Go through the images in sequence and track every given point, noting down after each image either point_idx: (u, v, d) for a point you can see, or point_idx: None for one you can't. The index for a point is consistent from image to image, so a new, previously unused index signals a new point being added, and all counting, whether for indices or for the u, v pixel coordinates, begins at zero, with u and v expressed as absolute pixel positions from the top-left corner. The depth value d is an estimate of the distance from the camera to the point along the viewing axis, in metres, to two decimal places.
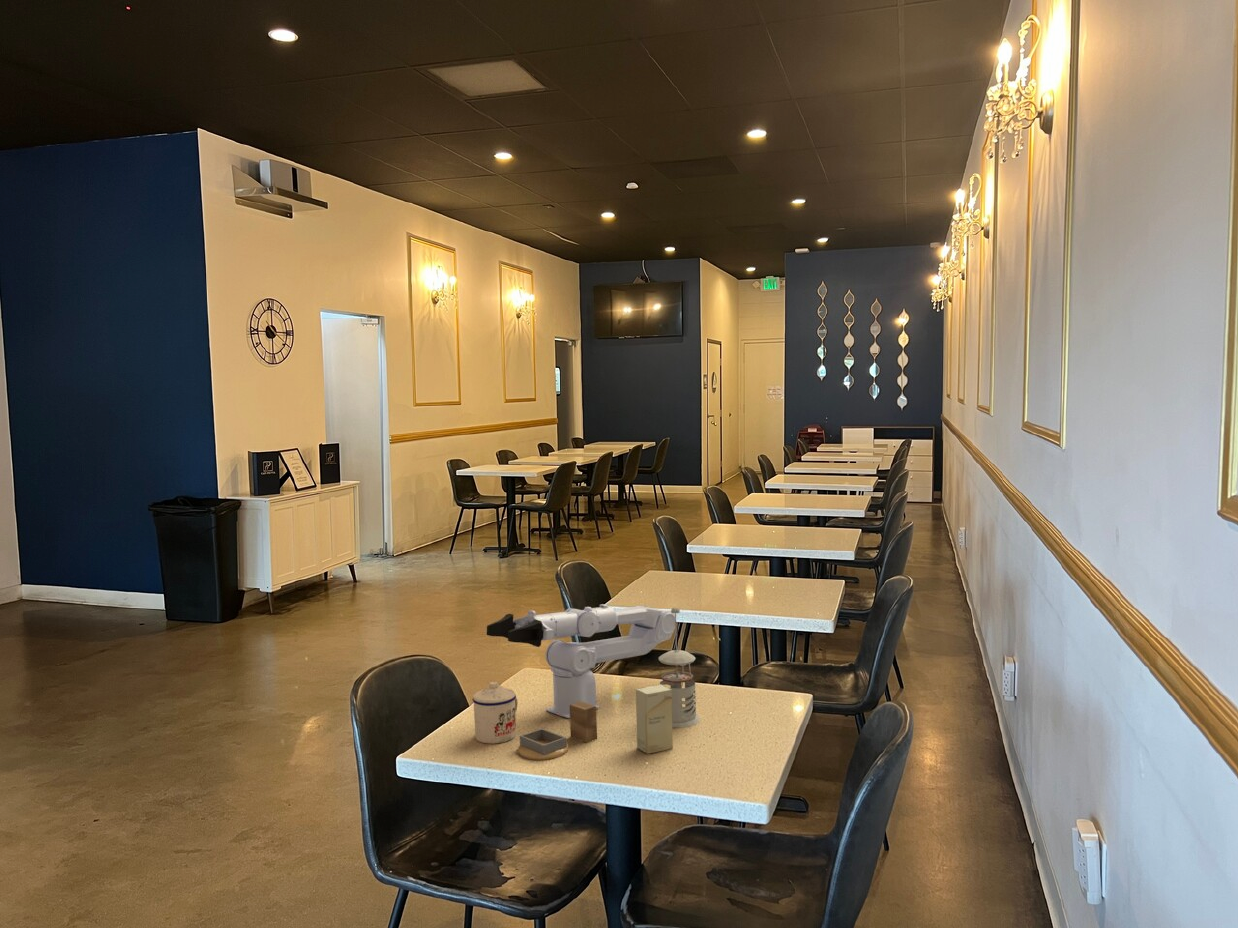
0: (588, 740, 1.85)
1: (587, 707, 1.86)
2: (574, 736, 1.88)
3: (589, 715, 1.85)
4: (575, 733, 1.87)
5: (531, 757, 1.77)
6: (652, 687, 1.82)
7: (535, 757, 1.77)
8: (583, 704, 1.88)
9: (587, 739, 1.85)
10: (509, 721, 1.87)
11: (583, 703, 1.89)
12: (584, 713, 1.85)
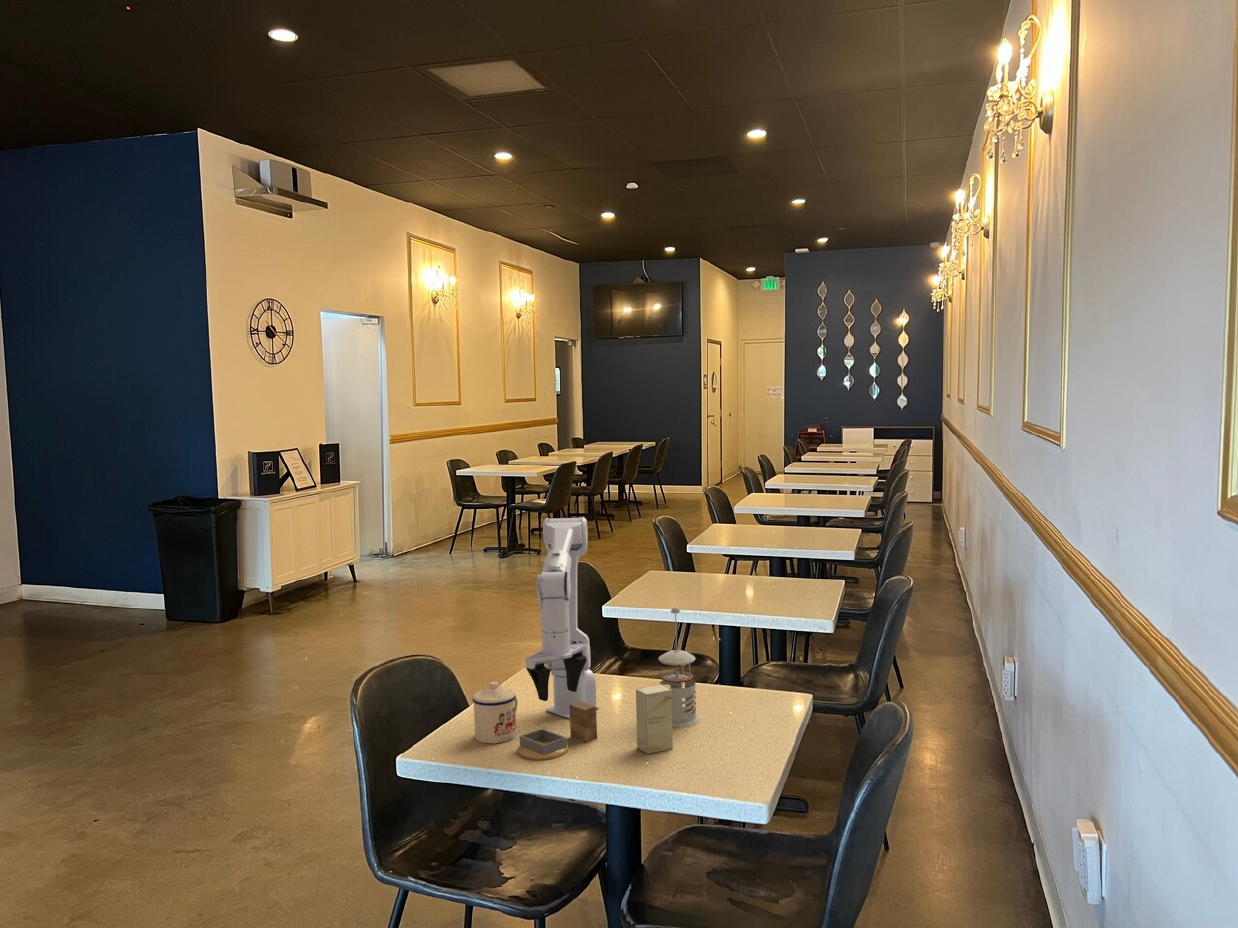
0: (588, 740, 1.85)
1: (587, 707, 1.86)
2: (574, 736, 1.88)
3: (589, 715, 1.85)
4: (575, 733, 1.87)
5: (531, 757, 1.77)
6: (652, 687, 1.82)
7: (535, 757, 1.77)
8: (583, 704, 1.88)
9: (587, 739, 1.85)
10: (509, 721, 1.87)
11: (583, 703, 1.89)
12: (584, 713, 1.85)
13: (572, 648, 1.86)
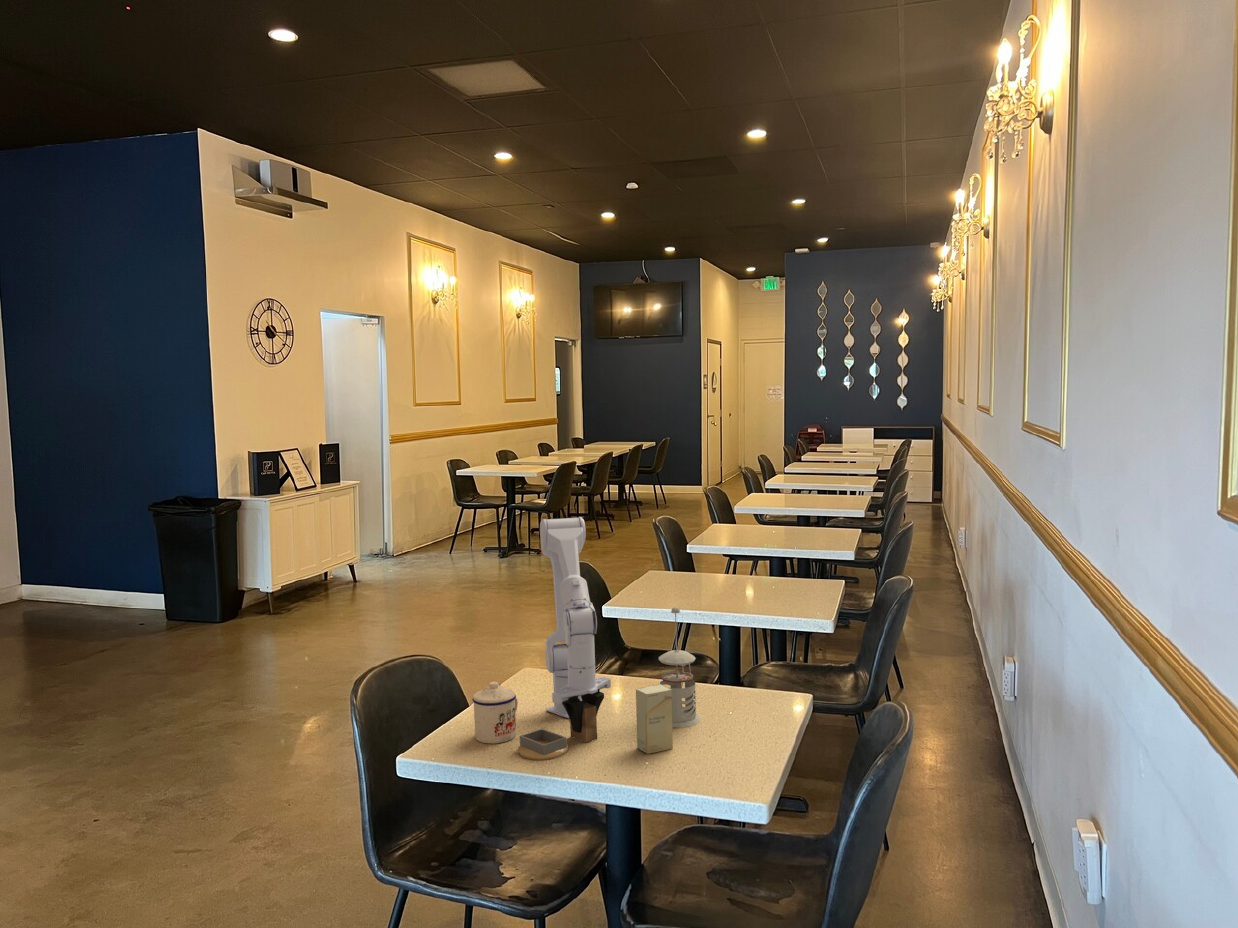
0: (588, 740, 1.85)
1: (587, 707, 1.86)
2: (574, 736, 1.88)
3: (589, 715, 1.85)
4: (575, 733, 1.87)
5: (531, 757, 1.77)
6: (652, 687, 1.82)
7: (535, 757, 1.77)
8: None
9: (587, 739, 1.85)
10: (509, 721, 1.87)
11: None
12: (584, 713, 1.85)
13: (597, 682, 1.90)
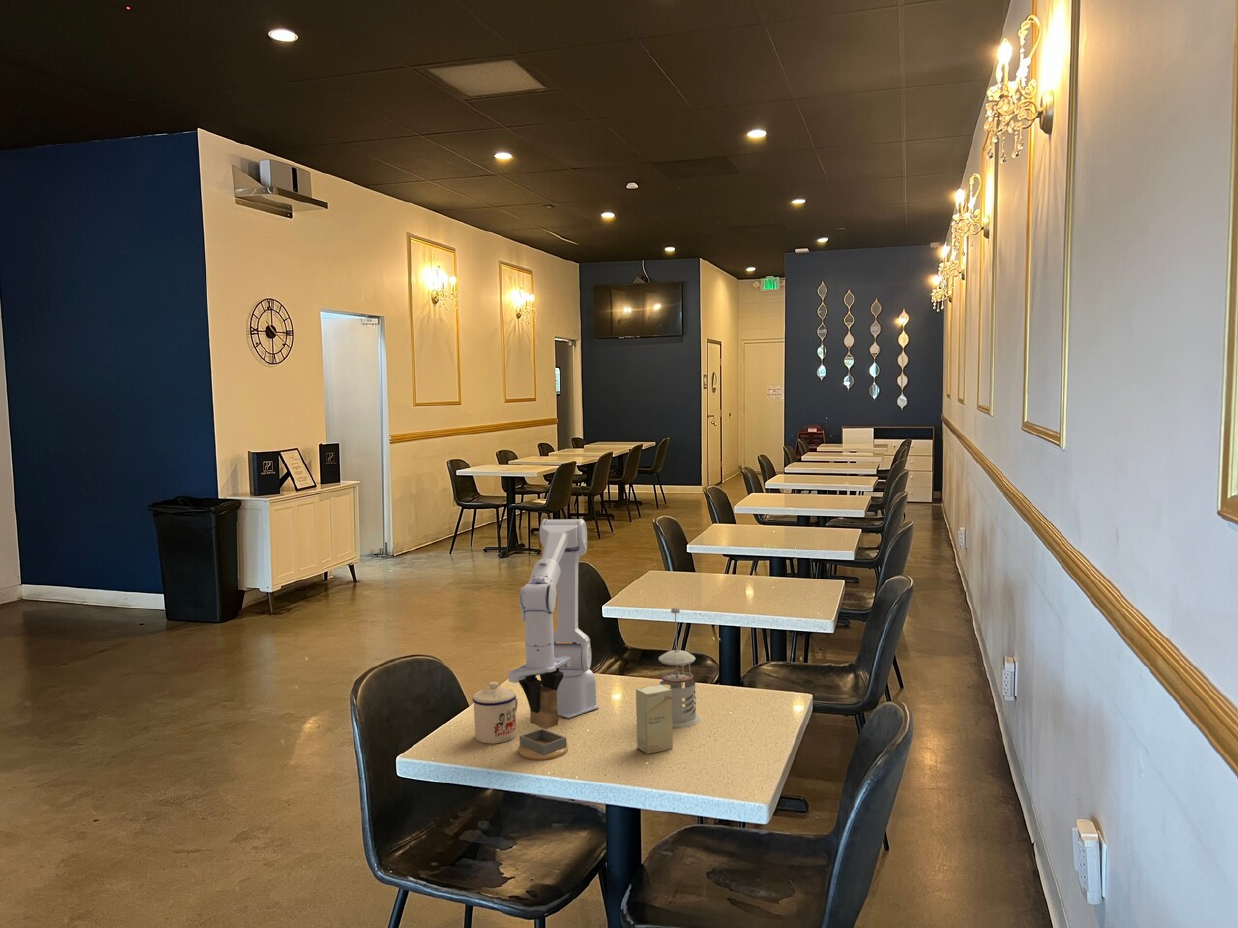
0: (548, 726, 1.78)
1: (548, 692, 1.79)
2: (534, 722, 1.81)
3: (549, 700, 1.78)
4: (535, 718, 1.80)
5: (531, 757, 1.77)
6: (652, 687, 1.82)
7: (535, 757, 1.77)
8: (543, 688, 1.81)
9: (547, 725, 1.78)
10: (509, 721, 1.87)
11: (544, 688, 1.82)
12: (544, 698, 1.78)
13: (556, 661, 1.83)
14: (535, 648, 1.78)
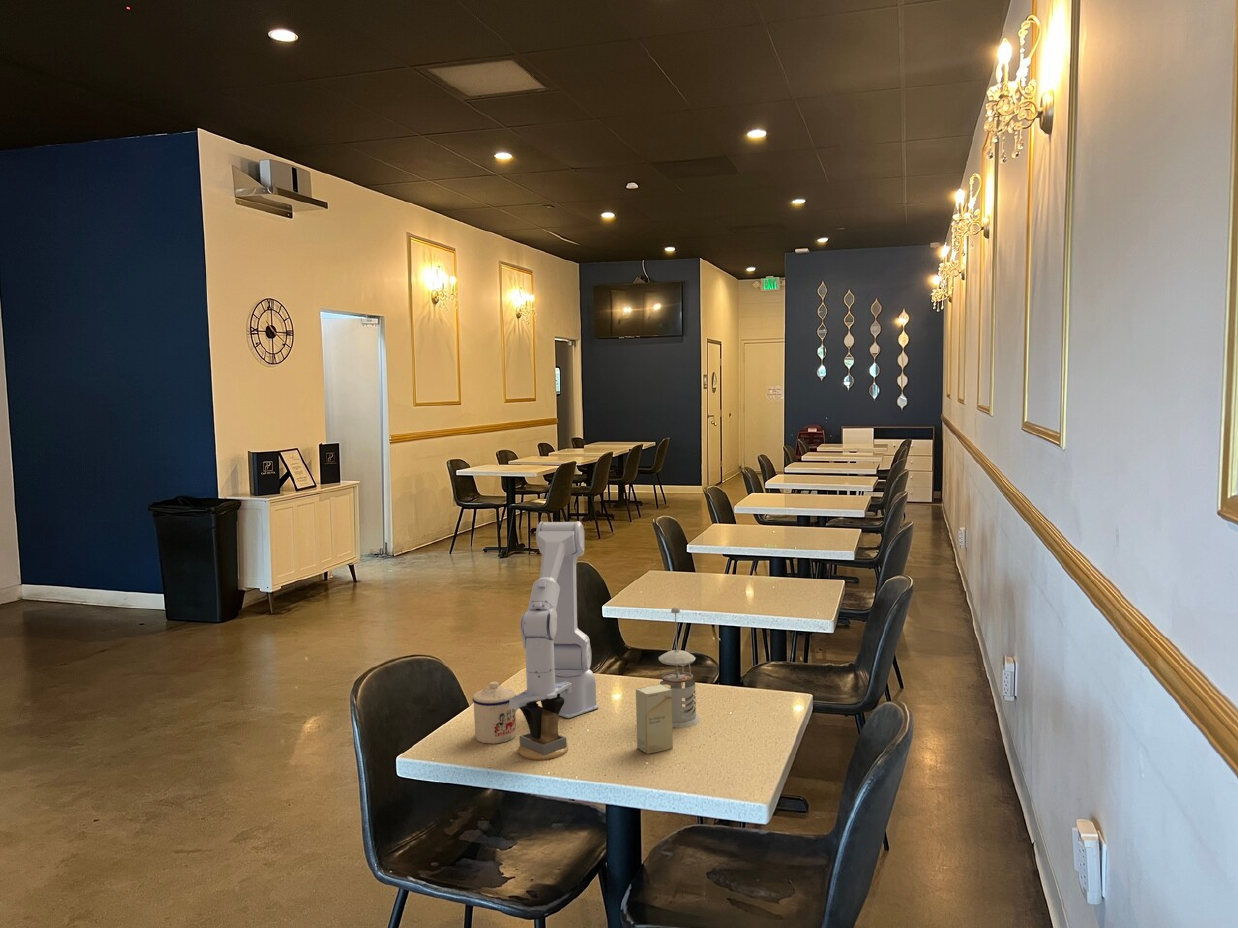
0: None
1: (548, 715, 1.79)
2: None
3: (550, 724, 1.79)
4: None
5: (531, 757, 1.77)
6: (652, 687, 1.82)
7: (535, 757, 1.77)
8: (544, 711, 1.81)
9: None
10: (509, 721, 1.87)
11: (544, 711, 1.82)
12: (544, 721, 1.78)
13: (557, 687, 1.84)
14: (536, 674, 1.78)
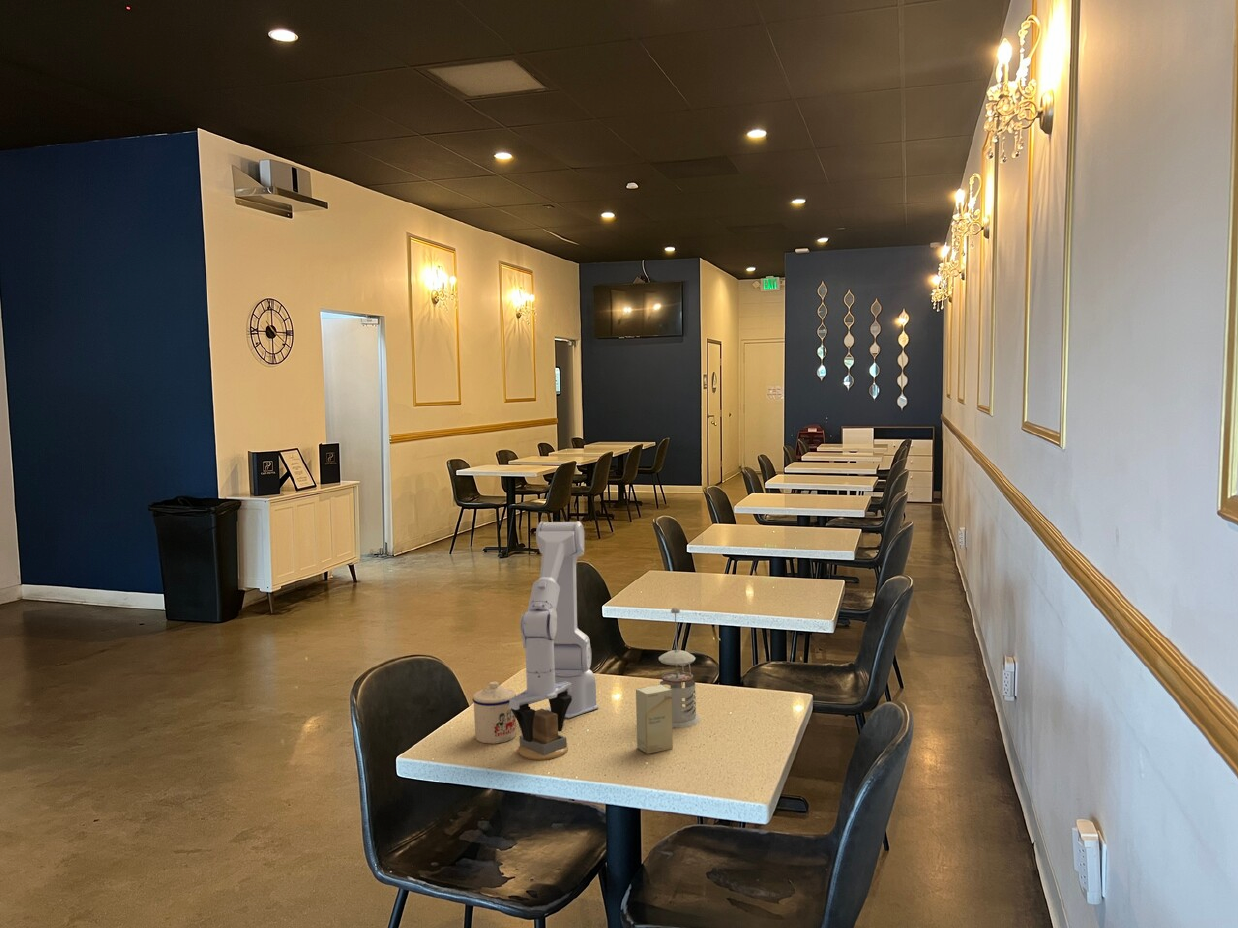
0: None
1: (548, 715, 1.79)
2: None
3: (550, 724, 1.79)
4: None
5: (531, 757, 1.77)
6: (652, 687, 1.82)
7: (535, 757, 1.77)
8: (544, 711, 1.81)
9: None
10: (509, 721, 1.87)
11: (544, 711, 1.82)
12: (544, 721, 1.78)
13: (557, 687, 1.84)
14: (536, 675, 1.78)
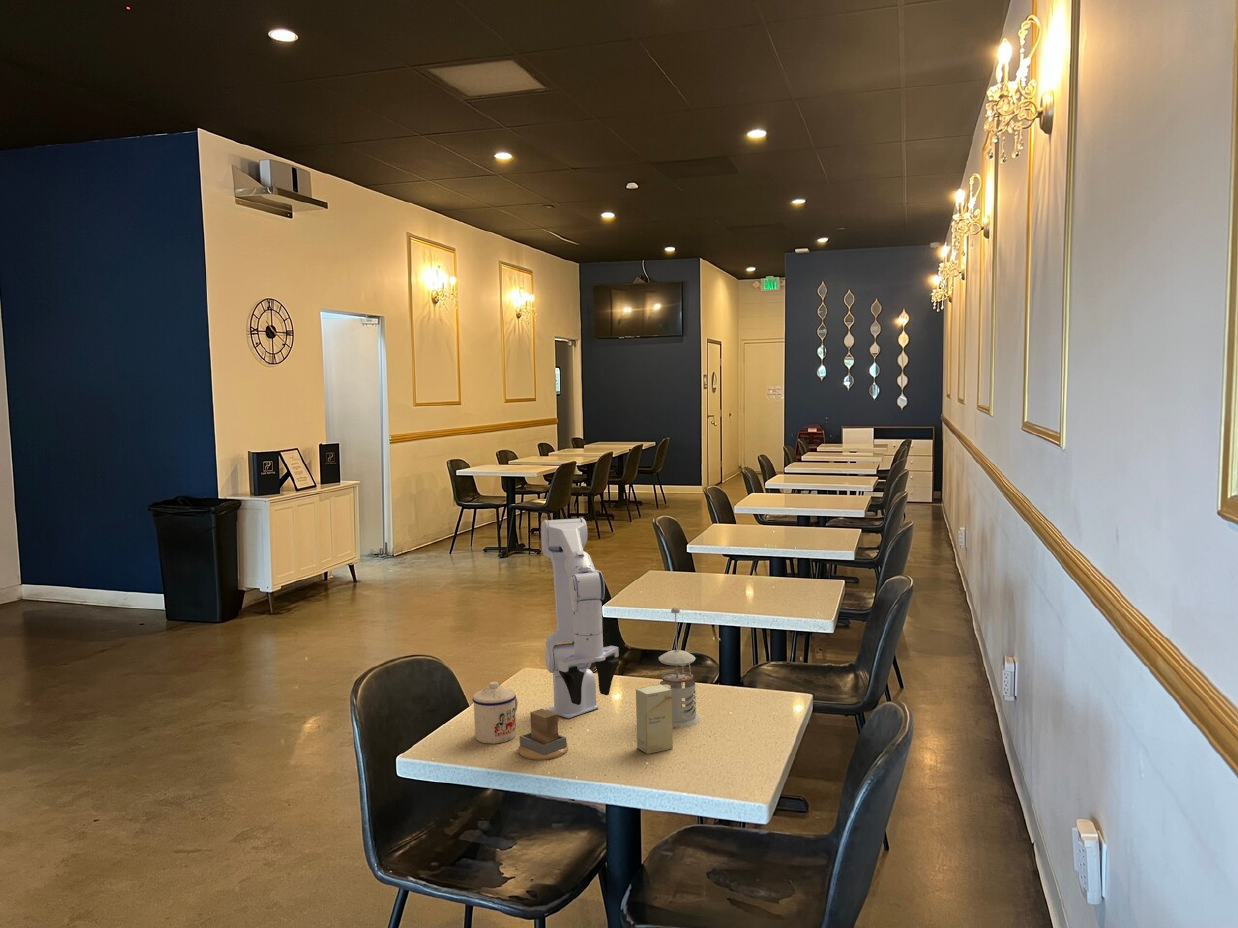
0: None
1: (548, 715, 1.79)
2: None
3: (550, 724, 1.79)
4: None
5: (531, 757, 1.77)
6: (652, 687, 1.82)
7: (535, 757, 1.77)
8: (544, 711, 1.81)
9: None
10: (509, 721, 1.87)
11: (544, 711, 1.82)
12: (544, 721, 1.78)
13: (604, 651, 1.83)
14: (585, 637, 1.77)
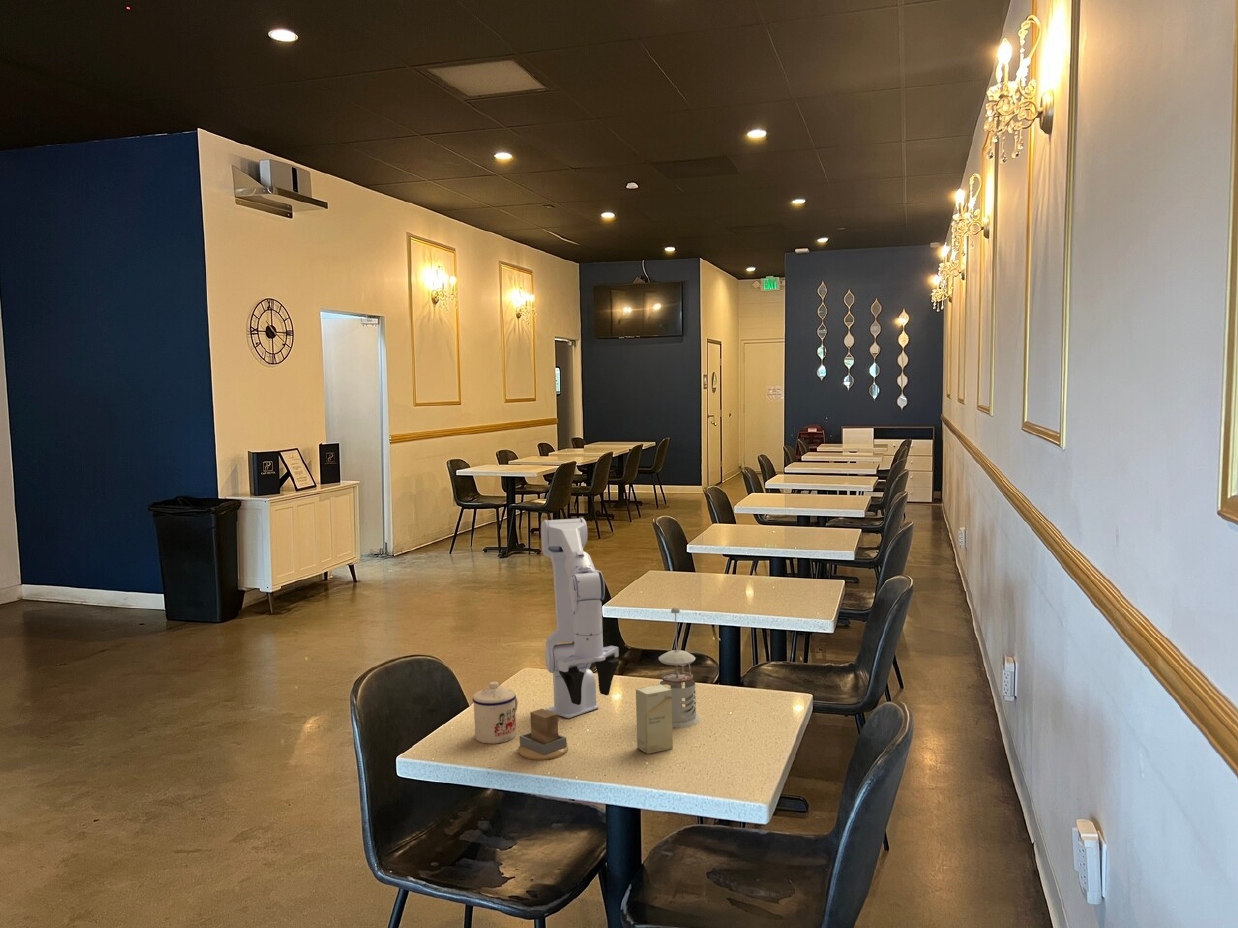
0: None
1: (548, 715, 1.79)
2: None
3: (550, 724, 1.79)
4: None
5: (531, 757, 1.77)
6: (652, 687, 1.82)
7: (535, 757, 1.77)
8: (544, 711, 1.81)
9: None
10: (509, 721, 1.87)
11: (544, 711, 1.82)
12: (544, 721, 1.78)
13: (604, 651, 1.83)
14: (585, 637, 1.77)
